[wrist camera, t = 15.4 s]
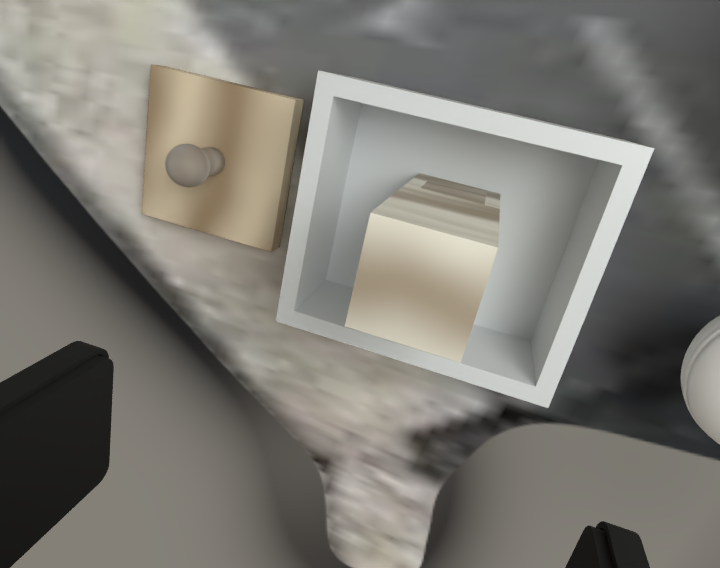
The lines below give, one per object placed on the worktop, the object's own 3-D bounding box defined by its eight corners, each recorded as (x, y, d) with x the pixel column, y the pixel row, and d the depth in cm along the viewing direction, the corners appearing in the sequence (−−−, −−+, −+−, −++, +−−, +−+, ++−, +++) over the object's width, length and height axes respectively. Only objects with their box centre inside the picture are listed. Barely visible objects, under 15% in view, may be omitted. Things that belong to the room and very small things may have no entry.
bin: (314, 284, 38) (275, 321, 31) (354, 77, 33) (318, 70, 26) (540, 352, 35) (548, 407, 29) (622, 139, 30) (654, 148, 24)
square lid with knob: (154, 209, 39) (99, 226, 34) (164, 66, 35) (104, 59, 30) (279, 246, 37) (242, 270, 32) (303, 99, 34) (266, 99, 29)
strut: (419, 172, 32) (370, 212, 21) (500, 193, 32) (498, 247, 20) (400, 249, 34) (344, 326, 22) (476, 270, 33) (460, 362, 22)
